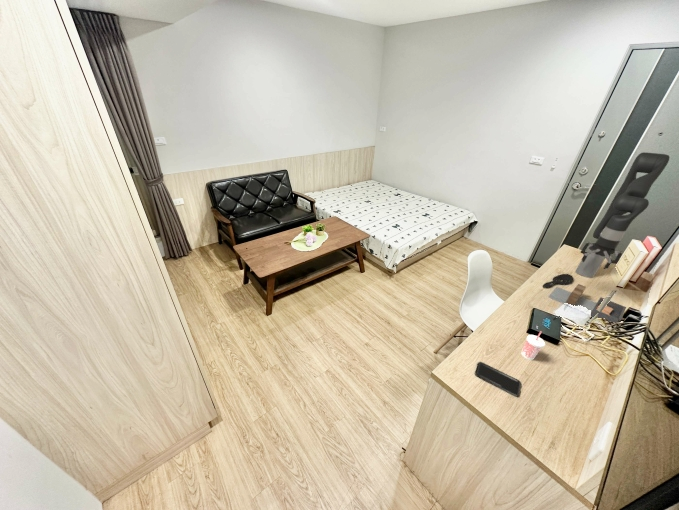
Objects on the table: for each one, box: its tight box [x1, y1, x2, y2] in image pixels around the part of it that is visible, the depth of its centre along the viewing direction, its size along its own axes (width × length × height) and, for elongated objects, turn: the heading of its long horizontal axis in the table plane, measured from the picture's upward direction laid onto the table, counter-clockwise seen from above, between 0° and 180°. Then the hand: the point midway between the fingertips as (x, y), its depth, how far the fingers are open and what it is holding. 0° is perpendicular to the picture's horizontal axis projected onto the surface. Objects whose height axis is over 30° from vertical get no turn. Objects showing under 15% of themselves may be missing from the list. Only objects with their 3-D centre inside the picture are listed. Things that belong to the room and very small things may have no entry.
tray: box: [591, 297, 627, 323], centre depth 131 cm, size 16×10×5 cm, turn 128°
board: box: [548, 286, 597, 312], centre depth 141 cm, size 12×18×2 cm, turn 38°
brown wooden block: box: [566, 283, 587, 306], centre depth 139 cm, size 14×4×6 cm, turn 129°
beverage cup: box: [521, 330, 546, 361], centre depth 106 cm, size 6×6×14 cm
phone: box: [474, 361, 522, 398], centre depth 99 cm, size 8×1×15 cm
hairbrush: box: [542, 272, 574, 289], centre depth 157 cm, size 8×4×25 cm
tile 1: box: [597, 305, 613, 314], centre depth 134 cm, size 5×5×2 cm
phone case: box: [557, 315, 596, 343], centre depth 124 cm, size 7×1×15 cm
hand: (593, 264), depth 134 cm, fingers open, 8 cm apart
